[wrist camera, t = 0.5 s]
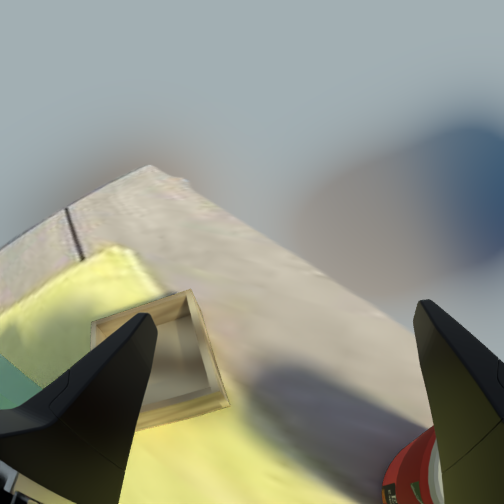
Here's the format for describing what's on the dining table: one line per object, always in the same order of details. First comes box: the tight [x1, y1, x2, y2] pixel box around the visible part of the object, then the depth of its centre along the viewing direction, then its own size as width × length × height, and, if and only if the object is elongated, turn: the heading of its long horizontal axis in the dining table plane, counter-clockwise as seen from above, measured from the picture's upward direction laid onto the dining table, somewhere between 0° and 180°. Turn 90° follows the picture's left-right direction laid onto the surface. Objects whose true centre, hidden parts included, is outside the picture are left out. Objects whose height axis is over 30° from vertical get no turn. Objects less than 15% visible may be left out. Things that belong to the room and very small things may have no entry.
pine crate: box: [90, 289, 230, 431], centre depth 25 cm, size 11×11×4 cm
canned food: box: [382, 425, 444, 504], centre depth 11 cm, size 8×8×11 cm
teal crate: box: [0, 354, 43, 409], centre depth 18 cm, size 6×6×12 cm
